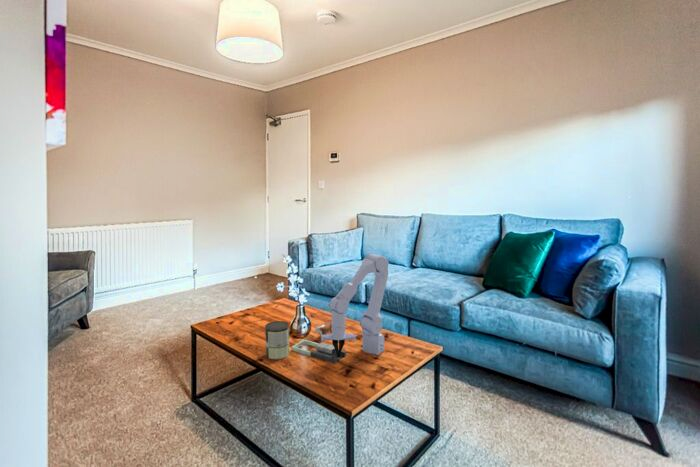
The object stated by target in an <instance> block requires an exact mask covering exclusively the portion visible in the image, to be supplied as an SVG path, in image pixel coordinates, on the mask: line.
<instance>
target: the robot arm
mask: <svg viewBox="0 0 700 467" xmlns="http://www.w3.org/2000/svg"><path fill="white" fill-rule="evenodd" d="M389 265H390V263H389V260H388V259H387V257H385V255H383V256H382V255H379V254H378V255H377V254H374V253H372V252H369V253H367V254H366V255H365V257H364V258H363V260H362V261H361V265H360V266H359V268H358V270H357V271H356V273H355V274H354V275H353V277H352V279H351V280H350V282H346V283H344V284H343V285H342V288H341V289H340V291H339V292H338V293H337V294H336V295H335V297H332V298H331V300H330V301H329V303H328V307H329V309H330V312H331V323H332V334H330V333H326V335H321V337H320V339H321V342H324V341H332V344H331V345H333V346H334V348H335V350H336V354H337V357H340V354H341V350H343V348H344V345H345V343H346V341H356V338H357V336H356V334H352V333H346V311H347V310H348V308H349V304H350V301H351V300H352V298H353V297H354V296H355V295H356V293H357V291H358V286H359V285H360V284H361V282H362V281H364V280H365V278H366V276H367V275H369V274H370V273H373V274H374V280H373V285H372V289H371V293H370V297H369V302H368V306H367V309H366V310H365V311H364V312H362V315H361V318H360V319H359V326H360V327H361V332H362V351H363V353H366V354H373V355H377V356H379V355H380V354H382V353H383V352H384V351H385V336H384V334H382V333H381V331H382V330H383V322H382V321H383V317H382V316H381V313H380V312H381V307H382V303H383V298H384V295H385V290H386V286H387V282H388V277H389ZM338 349H339V351H338Z"/></svg>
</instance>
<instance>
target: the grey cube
mask: <svg viewBox="0 0 700 467" xmlns="http://www.w3.org/2000/svg"><path fill="white" fill-rule="evenodd" d="M324 354H327V355H330V356H334V357H336V356H337V354H336V350H335V348H334V346H333V344H329V345H328V346H327V347H325V348H324Z"/></svg>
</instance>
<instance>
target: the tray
mask: <svg viewBox="0 0 700 467" xmlns="http://www.w3.org/2000/svg"><path fill="white" fill-rule="evenodd" d="M319 344H320V343H318V342H314V341H311V340H307V339H303V340H302V341H300V342H297V343H295V344H294V345H292V346H291V351H293V352H297V353H298V354H299V353H300V354H303V355H305V356H309V357H312V356H311V351H310V350H306V349H303V348H300V347H302V346H303V345H307V346H312V347H314V348H317V345H319Z"/></svg>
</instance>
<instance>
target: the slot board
mask: <svg viewBox="0 0 700 467" xmlns="http://www.w3.org/2000/svg"><path fill="white" fill-rule="evenodd" d="M338 351H339V348H338ZM310 352H311V356H310V357H313V358H317V359H320V360H323V361H327V362H329V363H332V364H336V363H338V362H339V361H341V360H342V359H343V358H345V357H346V356H347V351H346V350H343V349H342V350H341V354H340V357H337V356H336V357H334V356H330V355H327V354H324V353H320V352H317V350H311V351H310Z"/></svg>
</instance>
